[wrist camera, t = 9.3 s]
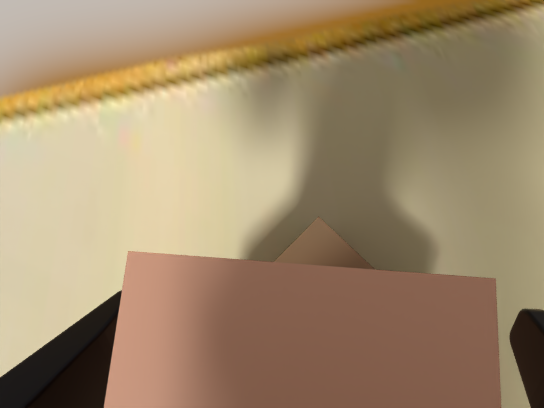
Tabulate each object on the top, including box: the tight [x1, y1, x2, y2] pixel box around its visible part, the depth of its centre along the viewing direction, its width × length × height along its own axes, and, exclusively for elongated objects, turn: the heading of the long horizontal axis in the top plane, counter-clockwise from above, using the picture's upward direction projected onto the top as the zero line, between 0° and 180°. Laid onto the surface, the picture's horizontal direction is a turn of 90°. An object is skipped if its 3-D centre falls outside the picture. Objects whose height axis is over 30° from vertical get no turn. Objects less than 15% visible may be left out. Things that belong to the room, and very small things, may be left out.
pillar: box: [104, 251, 501, 408], centre depth 10 cm, size 5×5×12 cm
